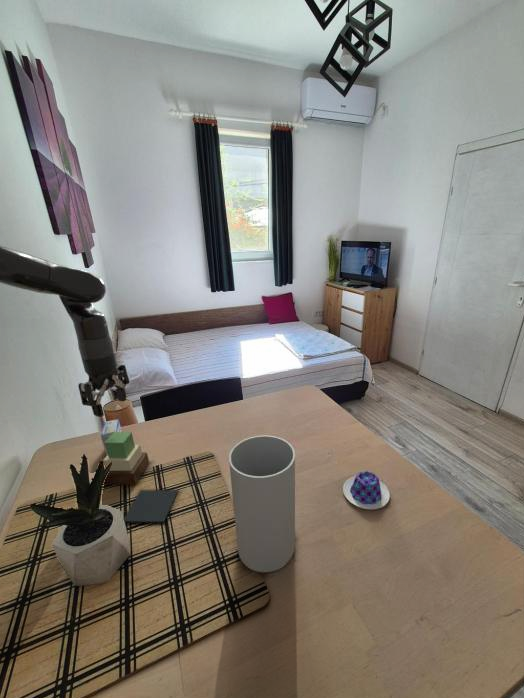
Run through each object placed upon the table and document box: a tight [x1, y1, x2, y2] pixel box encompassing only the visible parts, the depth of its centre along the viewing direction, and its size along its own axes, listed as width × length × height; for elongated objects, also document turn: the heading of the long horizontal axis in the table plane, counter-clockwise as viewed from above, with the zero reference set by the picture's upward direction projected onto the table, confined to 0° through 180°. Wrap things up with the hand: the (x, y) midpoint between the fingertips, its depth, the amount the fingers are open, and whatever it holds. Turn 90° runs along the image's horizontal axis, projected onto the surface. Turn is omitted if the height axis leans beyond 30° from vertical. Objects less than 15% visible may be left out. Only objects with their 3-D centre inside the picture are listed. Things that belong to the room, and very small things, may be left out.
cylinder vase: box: [228, 434, 296, 573], centre depth 67 cm, size 12×12×25 cm
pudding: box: [342, 470, 391, 510], centre depth 85 cm, size 12×12×5 cm
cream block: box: [102, 444, 143, 471], centre depth 91 cm, size 7×7×4 cm
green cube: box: [105, 431, 136, 458], centre depth 90 cm, size 5×5×5 cm
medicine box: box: [100, 419, 123, 456], centre depth 102 cm, size 8×4×9 cm, turn 22°
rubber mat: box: [123, 489, 179, 524], centre depth 82 cm, size 10×10×1 cm
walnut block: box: [103, 451, 150, 486], centre depth 93 cm, size 9×9×4 cm
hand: (111, 408), depth 89 cm, fingers open, 8 cm apart
